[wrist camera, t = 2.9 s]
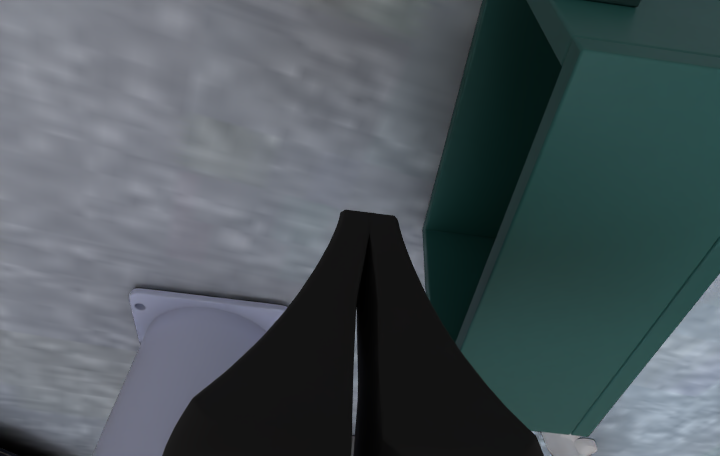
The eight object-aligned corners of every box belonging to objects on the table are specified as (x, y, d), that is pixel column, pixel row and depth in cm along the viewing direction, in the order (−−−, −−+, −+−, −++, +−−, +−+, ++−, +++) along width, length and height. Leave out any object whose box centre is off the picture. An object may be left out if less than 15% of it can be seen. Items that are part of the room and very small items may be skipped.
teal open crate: (530, 252, 24) (582, 445, 17) (419, 238, 24) (428, 428, 17) (677, -70, 16) (892, 61, 9) (507, -96, 15) (593, 19, 9)
